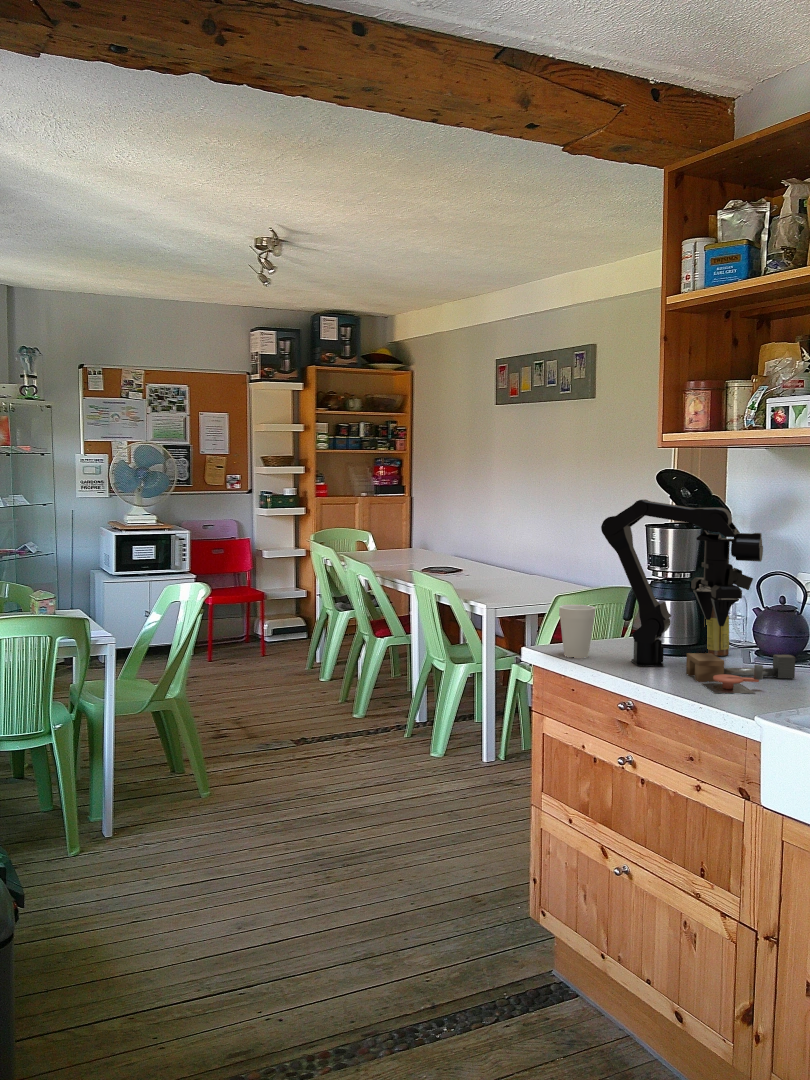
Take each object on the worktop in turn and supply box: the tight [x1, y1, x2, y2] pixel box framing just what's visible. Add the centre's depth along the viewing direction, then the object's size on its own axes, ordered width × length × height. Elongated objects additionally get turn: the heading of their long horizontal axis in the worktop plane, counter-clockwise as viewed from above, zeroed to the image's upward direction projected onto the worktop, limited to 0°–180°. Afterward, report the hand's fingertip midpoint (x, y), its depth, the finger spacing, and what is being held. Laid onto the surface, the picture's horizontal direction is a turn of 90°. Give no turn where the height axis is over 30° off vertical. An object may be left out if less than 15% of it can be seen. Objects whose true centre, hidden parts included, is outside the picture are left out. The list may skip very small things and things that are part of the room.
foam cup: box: [558, 604, 596, 659], centre depth 246 cm, size 10×9×13 cm
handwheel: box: [713, 664, 764, 689], centre depth 210 cm, size 11×6×5 cm, turn 82°
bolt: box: [724, 654, 796, 679], centre depth 222 cm, size 17×3×5 cm, turn 91°
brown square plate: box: [700, 682, 756, 695], centre depth 211 cm, size 9×9×1 cm
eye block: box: [685, 652, 725, 683], centre depth 222 cm, size 6×9×5 cm
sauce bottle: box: [706, 608, 730, 657], centre depth 248 cm, size 7×6×20 cm
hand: (714, 622), depth 228 cm, fingers open, 9 cm apart
